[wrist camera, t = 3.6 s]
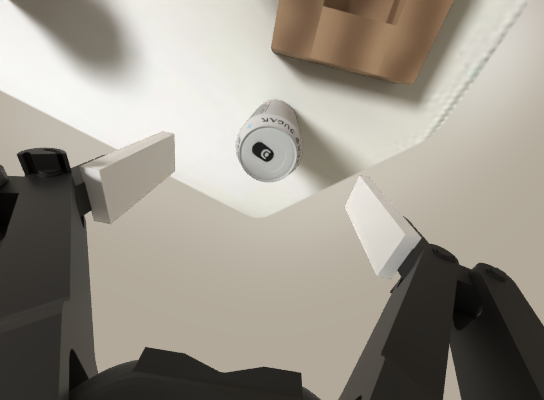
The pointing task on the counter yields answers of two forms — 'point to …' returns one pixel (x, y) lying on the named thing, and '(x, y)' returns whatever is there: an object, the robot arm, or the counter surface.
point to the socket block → (361, 34)
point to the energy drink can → (270, 142)
